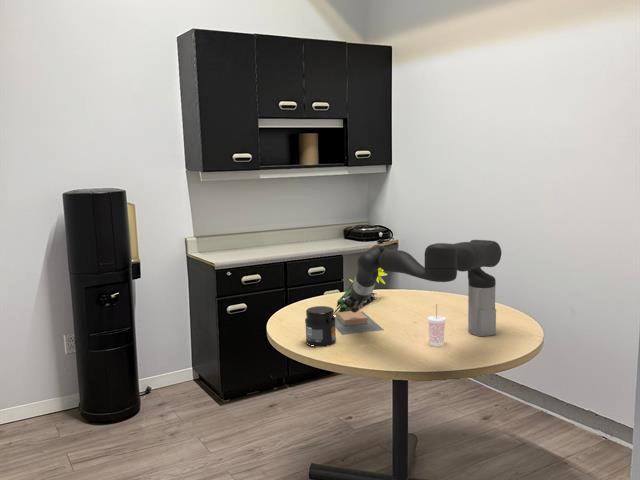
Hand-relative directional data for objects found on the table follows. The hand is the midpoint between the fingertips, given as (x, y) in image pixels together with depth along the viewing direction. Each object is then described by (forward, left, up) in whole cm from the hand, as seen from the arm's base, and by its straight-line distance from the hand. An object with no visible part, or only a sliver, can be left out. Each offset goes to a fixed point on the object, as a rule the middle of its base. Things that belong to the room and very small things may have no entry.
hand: (354, 310), depth 223 cm
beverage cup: (-30, -20, -6) cm, 36 cm away
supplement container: (-16, +17, -6) cm, 24 cm away
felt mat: (+2, 0, -6) cm, 6 cm away
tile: (-2, 0, -4) cm, 4 cm away
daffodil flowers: (+24, -10, -6) cm, 27 cm away
